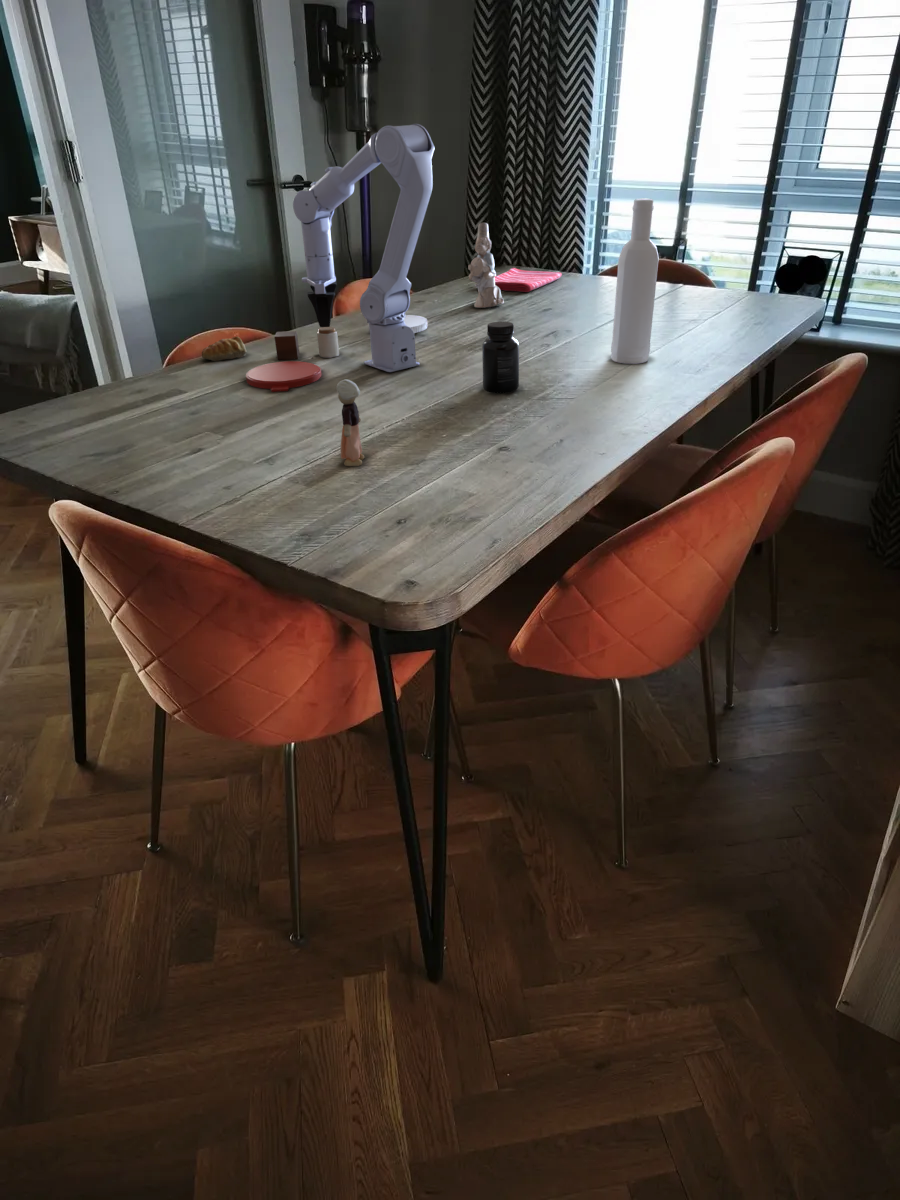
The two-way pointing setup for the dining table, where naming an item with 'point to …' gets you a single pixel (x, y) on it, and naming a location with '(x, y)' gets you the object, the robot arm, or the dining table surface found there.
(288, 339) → the walnut block
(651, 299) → the bottle
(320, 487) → the dining table surface
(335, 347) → the spice pot
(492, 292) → the figurine
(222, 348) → the pastry
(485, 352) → the supplement bottle
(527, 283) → the dish towel
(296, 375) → the red lid
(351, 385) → the grandmother figurine
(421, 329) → the plastic lid
